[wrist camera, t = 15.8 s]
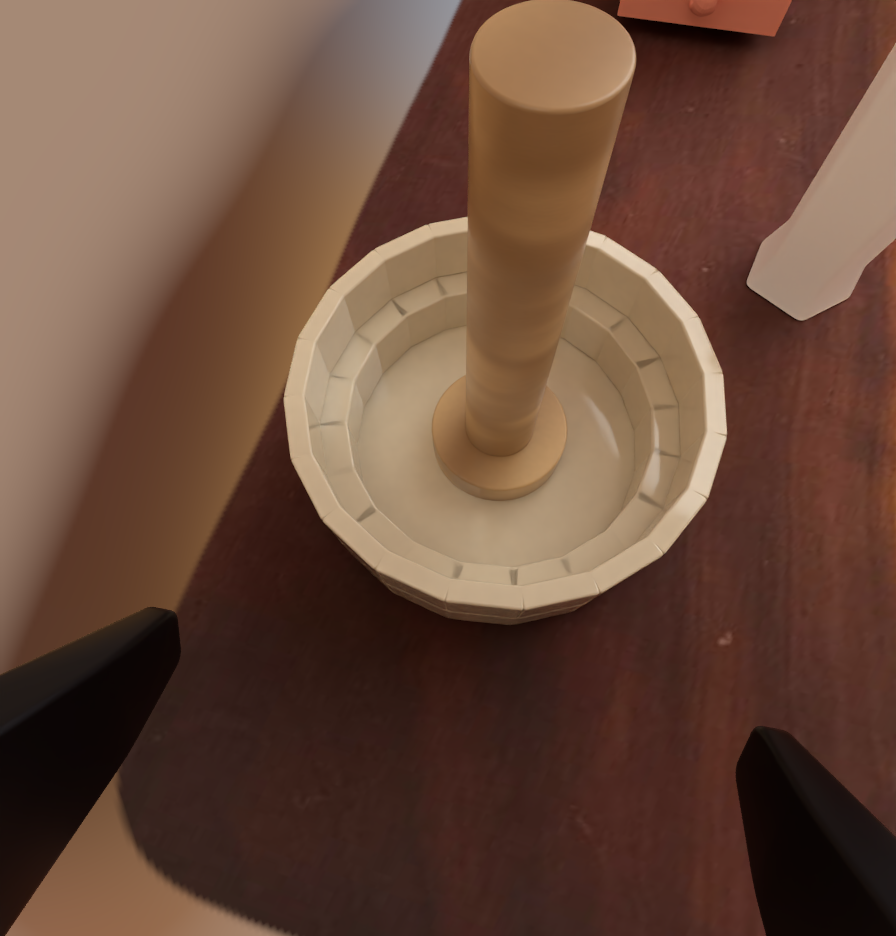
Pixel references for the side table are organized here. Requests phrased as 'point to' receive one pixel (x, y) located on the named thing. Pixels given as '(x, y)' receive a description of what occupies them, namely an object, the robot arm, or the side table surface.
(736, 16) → the teapot
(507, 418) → the tan post
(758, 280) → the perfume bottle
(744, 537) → the side table surface
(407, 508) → the bowl
